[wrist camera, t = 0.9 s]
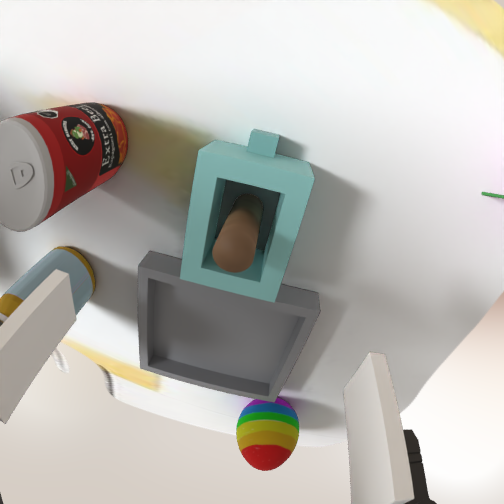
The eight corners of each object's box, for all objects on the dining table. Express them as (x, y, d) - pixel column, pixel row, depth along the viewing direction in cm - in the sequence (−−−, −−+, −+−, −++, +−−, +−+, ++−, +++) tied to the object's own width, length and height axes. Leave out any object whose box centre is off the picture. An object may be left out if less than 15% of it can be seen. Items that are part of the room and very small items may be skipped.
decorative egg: (253, 423, 41) (245, 480, 33) (231, 394, 38) (218, 458, 29) (305, 416, 39) (305, 476, 30) (289, 385, 36) (287, 455, 27)
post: (230, 217, 26) (209, 266, 19) (236, 190, 25) (216, 231, 18) (259, 224, 26) (248, 276, 19) (266, 197, 25) (258, 241, 18)
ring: (196, 248, 28) (179, 278, 23) (219, 121, 22) (202, 127, 18) (276, 268, 28) (274, 302, 23) (314, 144, 22) (321, 156, 18)
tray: (147, 352, 36) (140, 368, 33) (149, 250, 28) (138, 265, 26) (275, 384, 36) (274, 402, 33) (318, 292, 29) (320, 311, 26)
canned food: (144, 159, 24) (66, 204, 14) (83, 195, 26) (7, 248, 17) (109, 84, 21) (17, 92, 11) (52, 130, 23) (-34, 160, 14)
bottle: (80, 237, 29) (-13, 328, 15) (107, 292, 32) (38, 392, 18) (43, 250, 30) (-39, 328, 17) (69, 298, 33) (3, 384, 20)
